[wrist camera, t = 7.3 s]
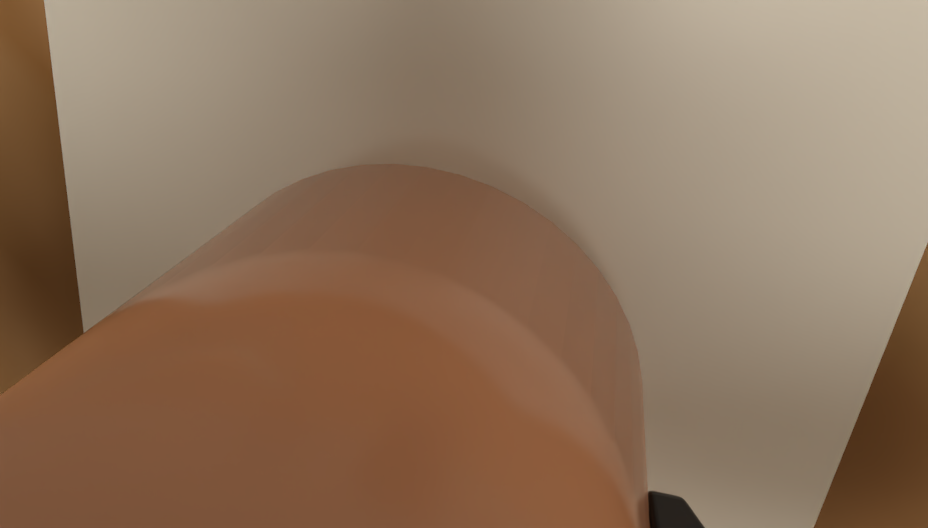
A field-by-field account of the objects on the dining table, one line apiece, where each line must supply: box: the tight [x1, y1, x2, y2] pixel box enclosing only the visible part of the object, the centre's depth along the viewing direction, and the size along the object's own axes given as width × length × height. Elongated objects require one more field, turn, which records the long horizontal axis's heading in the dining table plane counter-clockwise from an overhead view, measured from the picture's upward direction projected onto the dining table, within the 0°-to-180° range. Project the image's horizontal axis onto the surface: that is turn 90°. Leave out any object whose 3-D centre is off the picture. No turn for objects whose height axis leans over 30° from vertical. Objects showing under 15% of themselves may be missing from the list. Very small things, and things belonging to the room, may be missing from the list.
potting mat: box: [44, 0, 928, 528], centre depth 12 cm, size 13×13×1 cm
